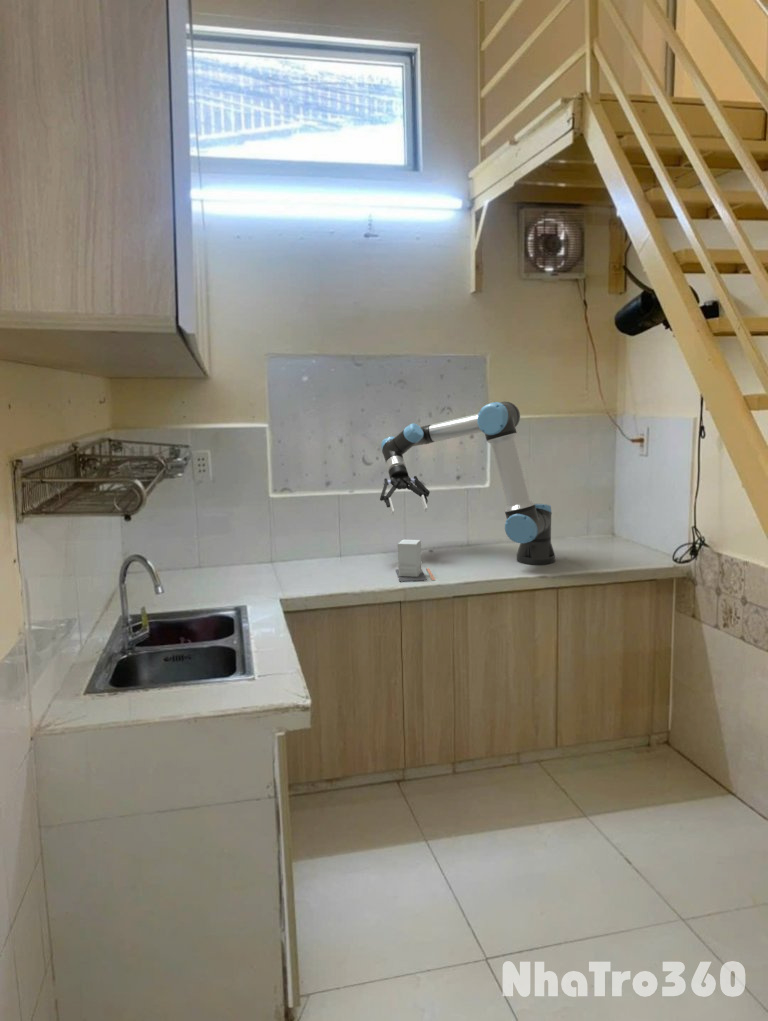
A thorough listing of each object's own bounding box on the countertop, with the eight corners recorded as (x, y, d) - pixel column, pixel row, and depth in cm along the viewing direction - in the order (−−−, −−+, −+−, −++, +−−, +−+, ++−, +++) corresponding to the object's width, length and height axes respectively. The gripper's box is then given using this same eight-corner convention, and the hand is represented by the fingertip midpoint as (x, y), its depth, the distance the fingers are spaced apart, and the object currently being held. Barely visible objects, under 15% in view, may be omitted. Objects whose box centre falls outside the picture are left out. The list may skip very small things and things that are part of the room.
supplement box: (422, 572, 261) (421, 539, 259) (417, 577, 254) (416, 544, 252) (403, 571, 263) (402, 538, 261) (398, 576, 256) (397, 543, 254)
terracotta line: (429, 569, 267) (429, 568, 267) (435, 580, 251) (435, 579, 251) (426, 569, 267) (426, 568, 267) (432, 580, 251) (432, 579, 251)
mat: (421, 569, 267) (421, 568, 266) (426, 580, 251) (426, 579, 251) (395, 570, 266) (395, 569, 266) (399, 582, 250) (399, 580, 250)
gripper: (424, 473, 286) (437, 514, 275) (366, 478, 280) (377, 520, 268) (428, 461, 281) (441, 502, 269) (368, 466, 274) (380, 508, 262)
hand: (409, 511), depth 269 cm, fingers open, 13 cm apart
